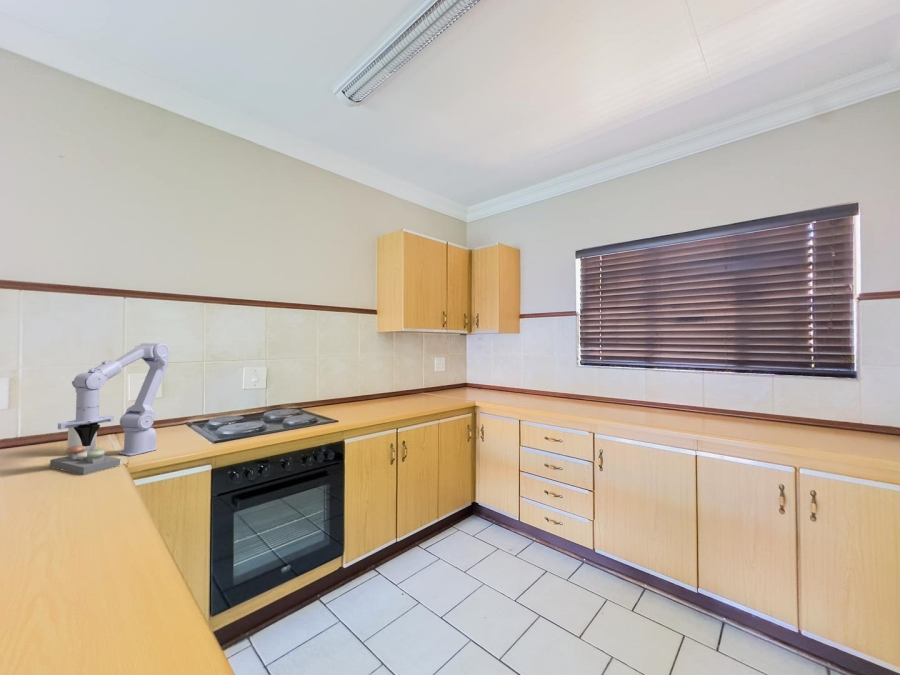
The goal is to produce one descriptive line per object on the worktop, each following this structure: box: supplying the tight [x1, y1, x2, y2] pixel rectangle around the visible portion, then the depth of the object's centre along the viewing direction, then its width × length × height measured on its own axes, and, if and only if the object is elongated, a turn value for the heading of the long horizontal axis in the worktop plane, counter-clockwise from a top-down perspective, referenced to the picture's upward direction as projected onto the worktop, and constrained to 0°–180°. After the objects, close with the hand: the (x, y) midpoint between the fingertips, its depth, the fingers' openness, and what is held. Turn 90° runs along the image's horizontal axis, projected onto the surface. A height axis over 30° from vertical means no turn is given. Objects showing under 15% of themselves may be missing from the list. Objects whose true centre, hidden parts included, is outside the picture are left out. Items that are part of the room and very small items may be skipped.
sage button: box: [87, 449, 106, 464], centre depth 126 cm, size 4×4×4 cm
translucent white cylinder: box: [66, 423, 98, 452], centre depth 144 cm, size 8×8×12 cm
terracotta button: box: [66, 446, 85, 459], centre depth 130 cm, size 4×4×4 cm
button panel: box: [49, 455, 121, 476], centre depth 128 cm, size 20×10×2 cm, turn 69°
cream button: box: [77, 451, 89, 461], centre depth 128 cm, size 4×4×4 cm
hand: (86, 445), depth 128 cm, fingers closed
